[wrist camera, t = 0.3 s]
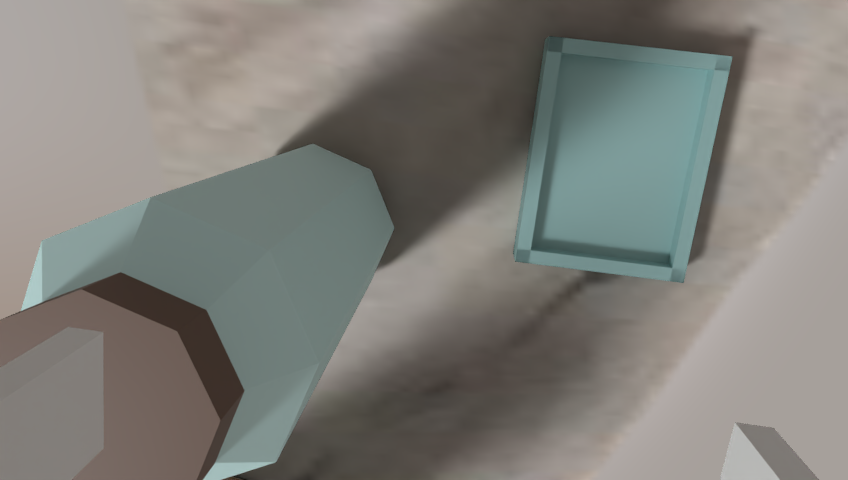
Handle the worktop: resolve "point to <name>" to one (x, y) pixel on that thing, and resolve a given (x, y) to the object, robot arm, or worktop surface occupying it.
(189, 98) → the worktop surface
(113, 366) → the water bottle
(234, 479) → the vase
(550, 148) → the tray
